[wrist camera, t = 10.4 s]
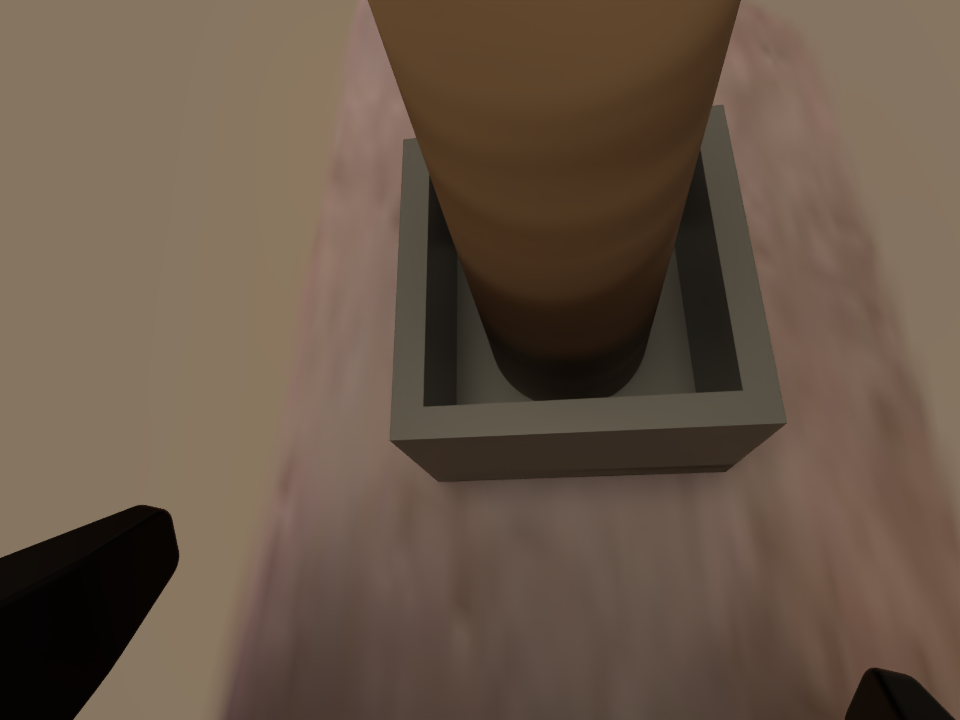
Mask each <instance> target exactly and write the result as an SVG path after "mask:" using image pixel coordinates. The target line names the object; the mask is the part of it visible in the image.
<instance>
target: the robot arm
mask: <svg viewBox="0 0 960 720" xmlns="http://www.w3.org/2000/svg"><path fill="white" fill-rule="evenodd" d="M178 561H179V550H178V545H177V540H176V535H175V531H174V526H173V520H172V517H171V515H170V514H169V512H168V511H166V510H165V509H161V508H156V507H152V506H147V505H138V506H134V507H131V508H129V509H126V510H124V511H121V512H118V513H116V514H113V515H111V516H108V517H106V518H103V519H100V520H98V521H95V522H92V523H90V524H88V525H85V526H82V527H80V528H77V529H74V530H72V531H69V532H67V533H64V534H61V535H59V536H56V537H54V538H51V539H48V540H46V541H43V542H40V543H38V544H35V545H33V546H30V547H28V548H25V549H22V550H20V551H17V552H14V553H12V554H10V555H7V556H4V557H2V558H0V720H73V719H74V718H75V717H76V715H77V714H78V713H79V712H80V710H81V709H82V708H83V706H84V705H85V704H86V702H87V701H88V700H89V698H90V697H91V696H92V695H93V693H94V692H95V691H96V689H97V688H98V687H99V685H100V684H101V683H102V681H103V680H104V679H105V677H106V676H107V675H108V673H109V672H110V671H111V669H112V668H113V666H114V665H115V663H116V661H117V660H118V659H119V657H120V656H121V654H122V653H123V651H124V650H125V648H126V646H127V645H128V643H129V642H130V640H131V639H132V637H133V636H134V634H135V633H136V631H137V630H138V628H139V626H140V625H141V623H142V622H143V620H144V619H145V617H146V616H147V614H148V612H149V611H150V609H151V608H152V606H153V605H154V603H155V602H156V600H157V599H158V597H159V595H160V594H161V592H162V591H163V589H164V588H165V586H166V585H167V583H168V582H169V580H170V578H171V577H172V575H173V574H174V572H175V570H176V568H177V565H178ZM845 720H955V719H954V718H953V717H952V716H951V715H950V714H949V713H948V711H947V710H946V709H945V708H944V707H943V706H942V705H941V704H940V703H939V702H938V701H937V700H936V699H935V698H934V697H933V696H932V695H931V694H930V693H929V692H928V691H927V690H926V689H925V688H924V687H923V686H922V685H921V684H920V683H919V682H918V681H917V680H915V679H914V678H912V677H911V676H909V675H906V674H902V673H898V672H893V671H889V670H884V669H880V668H870V669H868V670H867V671H866V672H865V673H864V675H863V677H862V679H861V681H860V683H859V686H858V688H857V690H856V692H855V694H854V697H853V699H852V701H851V703H850V706H849V708H848V710H847V713H846V716H845Z"/></svg>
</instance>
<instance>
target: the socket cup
mask: <svg viewBox="0 0 960 720" xmlns="http://www.w3.org/2000/svg"><path fill="white" fill-rule="evenodd" d="M785 424H787V421H786V416H785V411H784V406H783V401H782V396H781V391H780V386H779V381H778V376H777V371H776V366H775V361H774V356H773V351H772V346H771V341H770V336H769V331H768V326H767V321H766V316H765V311H764V306H763V301H762V296H761V291H760V286H759V281H758V276H757V271H756V266H755V261H754V256H753V251H752V246H751V241H750V236H749V231H748V226H747V221H746V216H745V211H744V206H743V201H742V196H741V191H740V186H739V181H738V176H737V171H736V166H735V161H734V156H733V151H732V146H731V141H730V136H729V131H728V126H727V121H726V116H725V111H724V106H723V105H716V106H712V108H711V111H710V115H709V119H708V122H707V126H706V130H705V133H704V137H703V141H702V144H701V148H700V152H699V155H698V159H697V163H696V166H695V170H694V174H693V177H692V181H691V185H690V188H689V192H688V196H687V200H686V203H685V207H684V211H683V214H682V218H681V222H680V225H679V229H678V233H677V236H676V240H675V244H674V247H673V251H672V255H671V258H670V262H669V266H668V269H667V273H666V277H665V280H664V284H663V288H662V291H661V295H660V299H659V302H658V306H657V310H656V313H655V317H654V321H653V325H652V328H651V332H650V336H649V339H648V343H647V347H646V350H645V354H644V357H643V359H642V362H641V364H640V366H639V368H638V370H637V372H636V373H635V375H634V376H633V377H632V379H631V380H630V381H629V382H628V383H627V384H626V385H625V386H624V387H623V388H622V389H620V390H619V391H618V392H617V393H615V394H614V395H612V396H610V397H607V398H587V399H567V400H548V401H534V400H532V399H530V398H528V397H526V396H524V395H523V394H522V393H520V392H519V391H517V390H516V389H515V388H514V387H513V386H512V385H511V384H510V383H509V382H508V381H507V380H506V378H505V377H504V376H503V374H502V373H501V371H500V369H499V368H498V366H497V363H496V361H495V358H494V356H493V353H492V350H491V347H490V344H489V341H488V339H487V336H486V333H485V330H484V327H483V324H482V322H481V319H480V316H479V313H478V310H477V308H476V305H475V302H474V299H473V296H472V293H471V291H470V288H469V285H468V282H467V279H466V276H465V274H464V271H463V268H462V265H461V262H460V259H459V257H458V254H457V251H456V248H455V245H454V243H453V240H452V237H451V234H450V231H449V228H448V226H447V223H446V220H445V217H444V214H443V211H442V209H441V206H440V203H439V200H438V197H437V194H436V192H435V189H434V186H433V183H432V180H431V178H430V175H429V172H428V169H427V166H426V163H425V161H424V158H423V155H422V152H421V149H420V146H419V144H418V141H417V138H413V139H404V140H403V162H402V184H401V205H400V227H399V249H398V271H397V293H396V315H395V336H394V358H393V380H392V402H391V424H390V441H391V442H392V443H393V444H394V445H396V446H397V447H398V448H399V449H400V450H402V451H403V452H404V453H405V454H406V455H407V456H409V457H410V458H411V459H412V460H413V461H415V462H416V463H417V464H418V465H419V466H420V467H422V468H423V469H424V470H425V471H426V472H428V473H429V474H430V475H431V476H432V477H433V478H435V479H436V480H437V481H438V482H441V481H470V480H499V479H528V478H556V477H585V476H614V475H643V474H672V473H701V472H726V471H727V470H729V469H730V468H731V467H732V466H734V465H735V464H736V463H737V462H739V461H740V460H741V459H742V458H744V457H745V456H746V455H747V454H749V453H750V452H751V451H753V450H754V449H755V448H756V447H758V446H759V445H760V444H761V443H763V442H764V441H765V440H766V439H768V438H769V437H770V436H771V435H773V434H774V433H775V432H776V431H778V430H779V429H780V428H781V427H783V426H784V425H785Z"/></svg>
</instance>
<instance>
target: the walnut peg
mask: <svg viewBox="0 0 960 720" xmlns="http://www.w3.org/2000/svg"><path fill="white" fill-rule="evenodd" d="M740 1H741V0H368V2H369V5H370V8H371V11H372V14H373V16H374V19H375V22H376V25H377V28H378V31H379V33H380V36H381V39H382V42H383V45H384V48H385V50H386V53H387V56H388V59H389V62H390V64H391V67H392V70H393V73H394V76H395V79H396V81H397V84H398V87H399V90H400V93H401V96H402V98H403V101H404V104H405V107H406V110H407V113H408V115H409V118H410V121H411V124H412V127H413V129H414V132H415V135H416V138H417V141H418V144H419V146H420V149H421V152H422V155H423V158H424V161H425V163H426V166H427V169H428V172H429V175H430V178H431V180H432V183H433V186H434V189H435V192H436V194H437V197H438V200H439V203H440V206H441V209H442V211H443V214H444V217H445V220H446V223H447V226H448V228H449V231H450V234H451V237H452V240H453V243H454V245H455V248H456V251H457V254H458V257H459V259H460V262H461V265H462V268H463V271H464V274H465V276H466V279H467V282H468V285H469V288H470V291H471V293H472V296H473V299H474V302H475V305H476V308H477V310H478V313H479V316H480V319H481V322H482V324H483V327H484V330H485V333H486V336H487V339H488V341H489V344H490V347H491V350H492V353H493V356H494V358H495V361H496V363H497V366H498V368H499V369H500V371H501V373H502V374H503V376H504V377H505V378H506V380H507V381H508V382H509V383H510V384H511V385H512V386H513V387H514V388H515V389H516V390H517V391H519V392H520V393H522V394H523V395H524V396H526V397H528V398H530V399H532V400H534V401H548V400H567V399H587V398H607V397H610V396H612V395H614V394H615V393H617V392H618V391H619V390H620V389H622V388H623V387H624V386H625V385H626V384H627V383H628V382H629V381H630V380H631V379H632V377H633V376H634V375H635V373H636V372H637V370H638V368H639V366H640V364H641V362H642V359H643V357H644V354H645V350H646V347H647V343H648V339H649V336H650V332H651V328H652V325H653V321H654V317H655V313H656V310H657V306H658V302H659V299H660V295H661V291H662V288H663V284H664V280H665V277H666V273H667V269H668V266H669V262H670V258H671V255H672V251H673V247H674V244H675V240H676V236H677V233H678V229H679V225H680V222H681V218H682V214H683V211H684V207H685V203H686V200H687V196H688V192H689V188H690V185H691V181H692V177H693V174H694V170H695V166H696V163H697V159H698V155H699V152H700V148H701V144H702V141H703V137H704V133H705V130H706V126H707V122H708V119H709V115H710V111H711V108H712V104H713V100H714V97H715V93H716V89H717V86H718V82H719V78H720V75H721V71H722V67H723V64H724V60H725V56H726V52H727V49H728V45H729V41H730V38H731V34H732V30H733V27H734V23H735V19H736V16H737V12H738V8H739V5H740Z"/></svg>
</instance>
